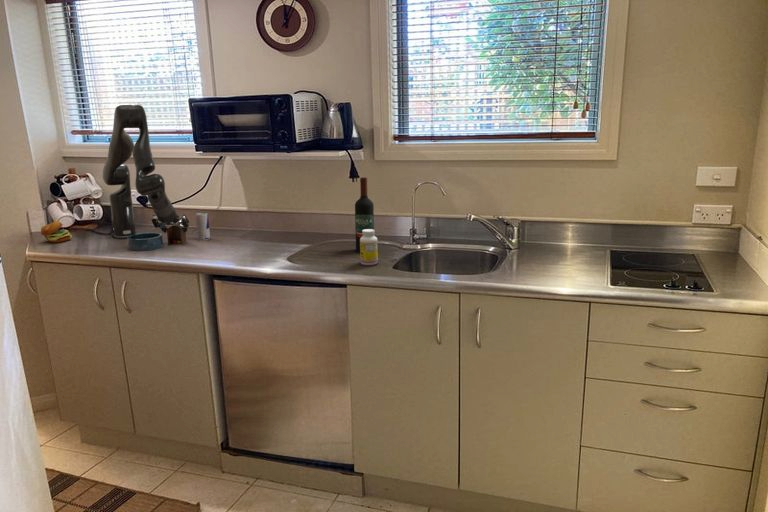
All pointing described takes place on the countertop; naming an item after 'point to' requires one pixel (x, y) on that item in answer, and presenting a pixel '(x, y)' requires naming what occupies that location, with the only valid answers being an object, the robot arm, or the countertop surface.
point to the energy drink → (202, 226)
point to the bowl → (145, 241)
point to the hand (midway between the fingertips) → (175, 230)
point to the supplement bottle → (368, 248)
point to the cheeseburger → (55, 232)
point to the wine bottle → (363, 213)
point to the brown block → (175, 235)
